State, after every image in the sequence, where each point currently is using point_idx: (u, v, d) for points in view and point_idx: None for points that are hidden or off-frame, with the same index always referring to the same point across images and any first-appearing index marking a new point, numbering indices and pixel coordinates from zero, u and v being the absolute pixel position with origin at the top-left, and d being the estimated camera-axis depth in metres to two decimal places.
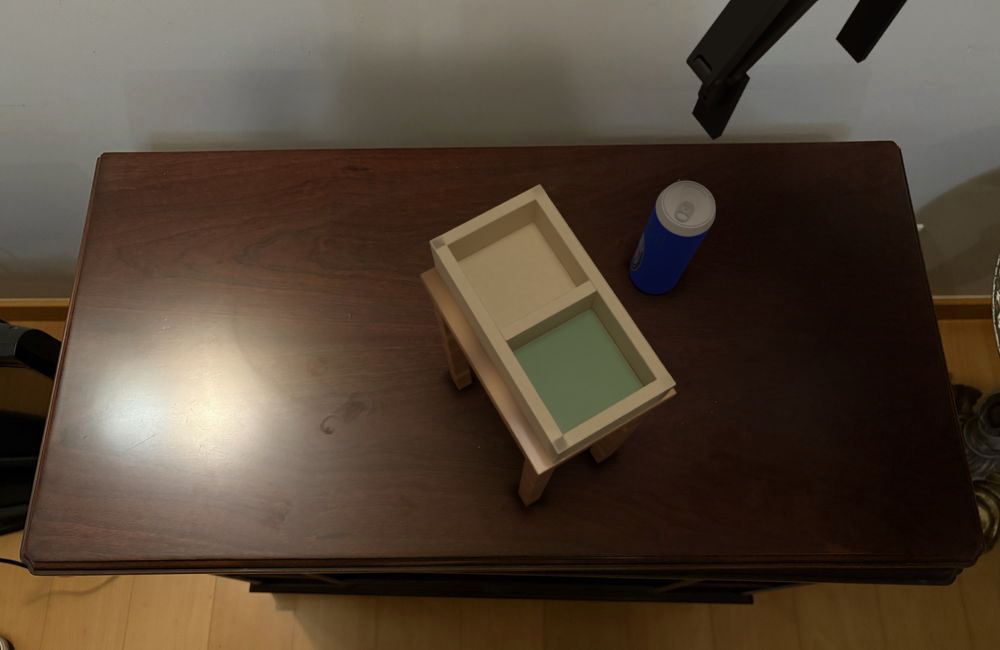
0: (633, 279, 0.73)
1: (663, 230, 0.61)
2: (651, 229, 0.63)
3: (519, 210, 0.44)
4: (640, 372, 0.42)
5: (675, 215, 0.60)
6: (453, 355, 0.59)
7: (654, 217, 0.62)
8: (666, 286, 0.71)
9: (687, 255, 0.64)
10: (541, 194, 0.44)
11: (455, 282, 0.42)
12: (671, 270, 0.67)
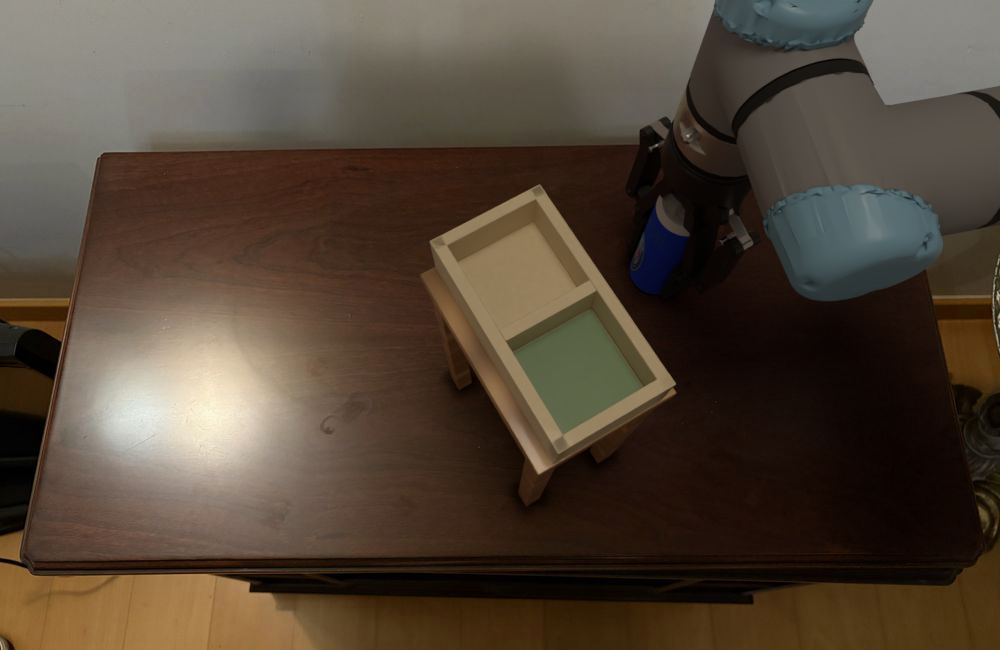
0: (633, 279, 0.73)
1: (663, 230, 0.61)
2: (651, 229, 0.63)
3: (519, 210, 0.44)
4: (640, 372, 0.42)
5: (675, 215, 0.60)
6: (453, 355, 0.59)
7: (654, 217, 0.62)
8: None
9: None
10: (541, 194, 0.44)
11: (455, 282, 0.42)
12: (672, 270, 0.67)
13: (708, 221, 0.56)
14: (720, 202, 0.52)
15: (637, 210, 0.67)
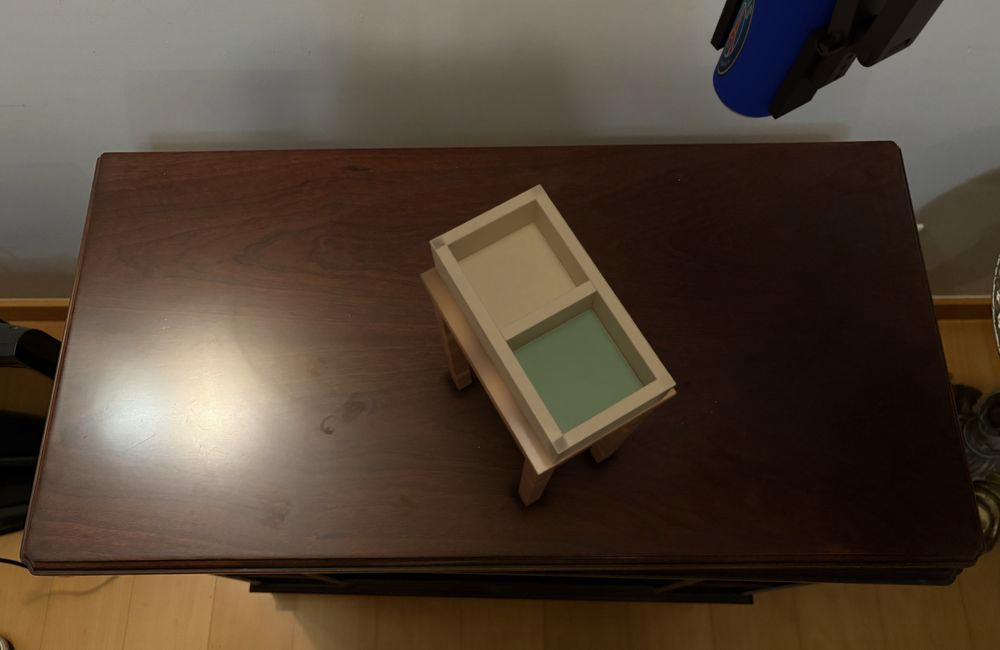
0: (721, 92, 0.44)
1: None
2: None
3: (519, 210, 0.44)
4: (640, 372, 0.42)
5: None
6: (453, 355, 0.59)
7: None
8: None
9: None
10: (541, 194, 0.44)
11: (455, 282, 0.42)
12: (802, 48, 0.38)
13: None
14: None
15: None
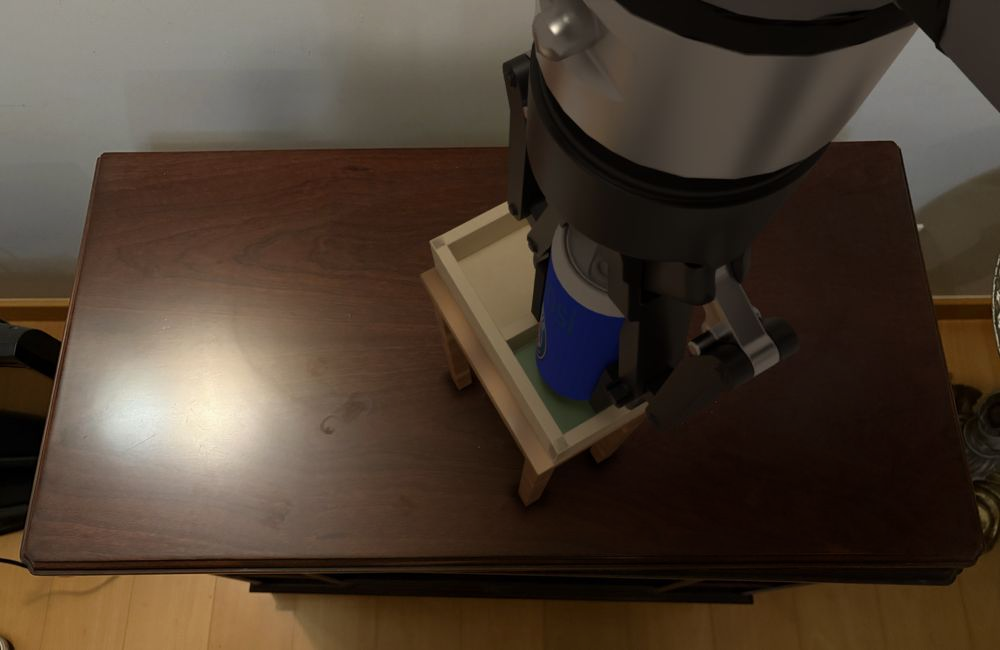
0: (540, 372, 0.39)
1: (567, 300, 0.27)
2: (549, 294, 0.29)
3: None
4: None
5: (592, 268, 0.26)
6: (453, 355, 0.59)
7: (550, 270, 0.27)
8: None
9: None
10: None
11: (455, 282, 0.42)
12: (603, 370, 0.33)
13: (663, 292, 0.22)
14: (687, 253, 0.18)
15: (531, 248, 0.32)
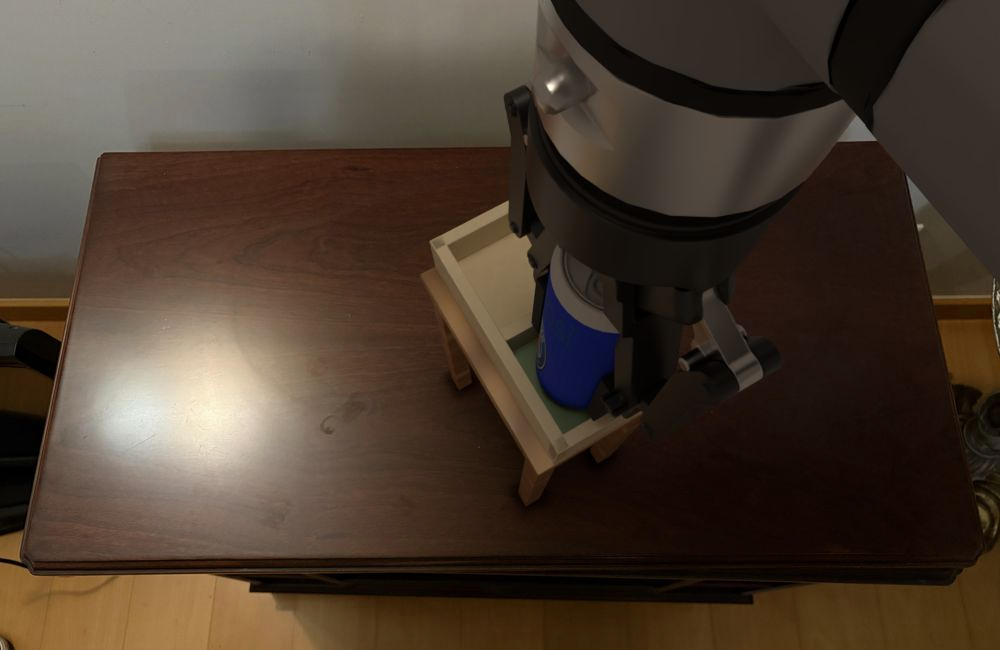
0: (540, 381, 0.40)
1: (565, 316, 0.28)
2: (548, 310, 0.30)
3: None
4: None
5: (589, 287, 0.27)
6: (453, 355, 0.59)
7: (549, 287, 0.29)
8: None
9: None
10: None
11: (455, 282, 0.42)
12: None
13: (654, 312, 0.23)
14: (675, 279, 0.19)
15: (531, 264, 0.34)
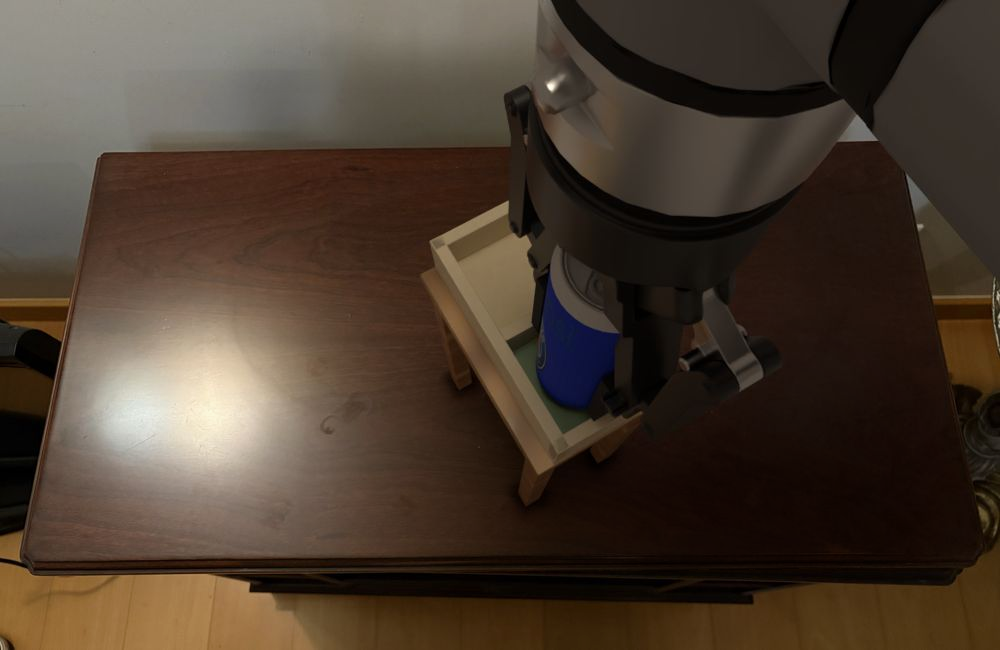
0: (540, 381, 0.40)
1: (565, 316, 0.28)
2: (548, 309, 0.30)
3: None
4: None
5: (589, 287, 0.27)
6: (453, 355, 0.59)
7: (549, 287, 0.29)
8: None
9: None
10: None
11: (455, 282, 0.42)
12: (600, 381, 0.34)
13: (654, 312, 0.23)
14: (675, 279, 0.19)
15: (531, 264, 0.34)
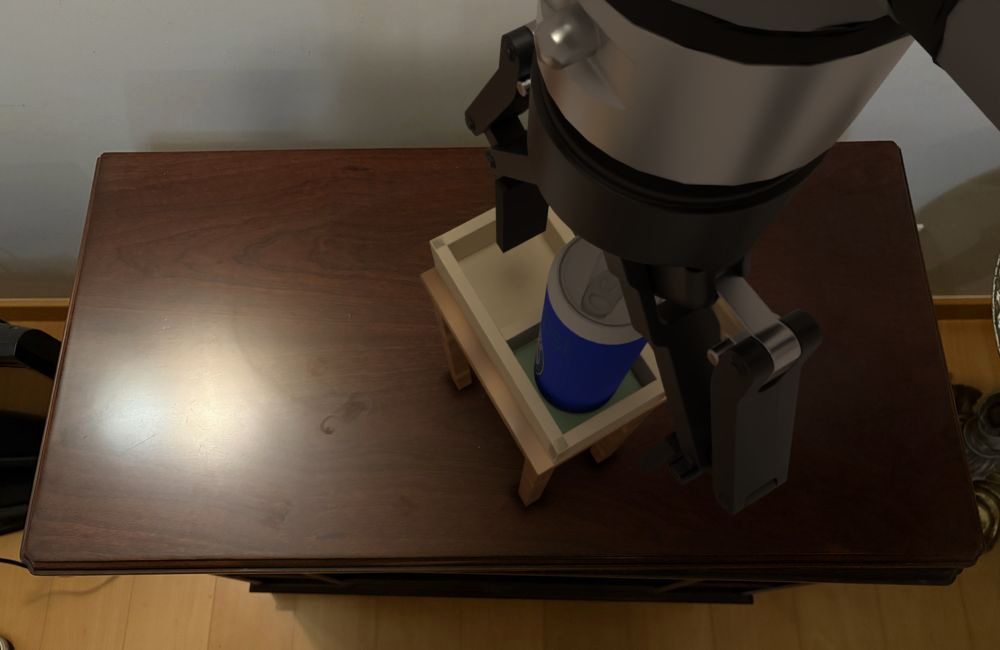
0: (539, 386, 0.41)
1: (562, 328, 0.29)
2: (546, 320, 0.32)
3: None
4: (640, 372, 0.42)
5: (584, 300, 0.28)
6: (453, 355, 0.59)
7: (547, 300, 0.30)
8: (595, 404, 0.40)
9: (620, 367, 0.33)
10: None
11: (455, 282, 0.42)
12: (596, 387, 0.36)
13: (663, 296, 0.22)
14: (688, 258, 0.18)
15: (489, 163, 0.32)
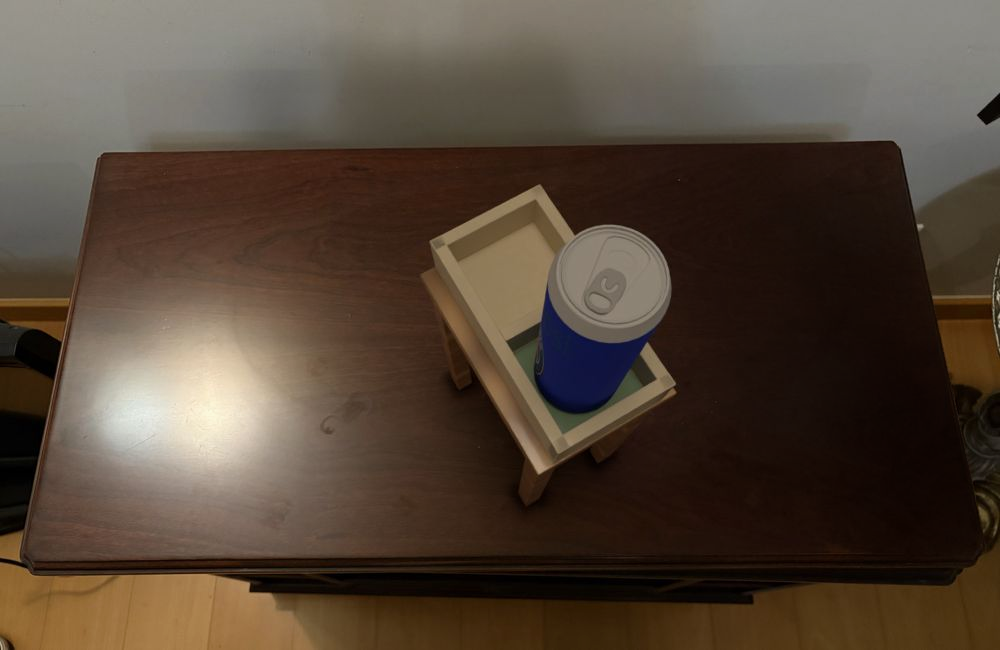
0: (539, 386, 0.41)
1: (562, 326, 0.29)
2: (546, 319, 0.32)
3: (519, 210, 0.44)
4: (640, 372, 0.42)
5: (584, 299, 0.28)
6: (453, 355, 0.59)
7: (547, 299, 0.30)
8: (595, 403, 0.40)
9: (620, 366, 0.33)
10: (541, 194, 0.44)
11: (455, 282, 0.42)
12: (596, 387, 0.36)
13: None
14: None
15: None
